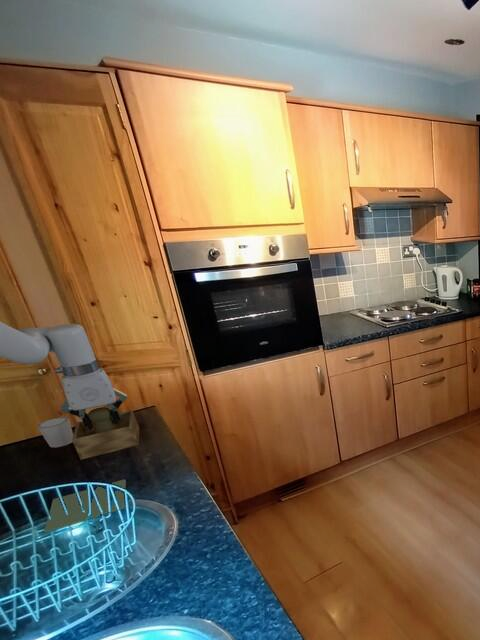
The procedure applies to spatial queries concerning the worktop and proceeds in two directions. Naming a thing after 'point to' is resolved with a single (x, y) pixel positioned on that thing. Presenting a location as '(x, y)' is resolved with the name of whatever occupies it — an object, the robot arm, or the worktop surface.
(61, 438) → the grey cup
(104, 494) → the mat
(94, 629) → the worktop surface
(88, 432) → the basket
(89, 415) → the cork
